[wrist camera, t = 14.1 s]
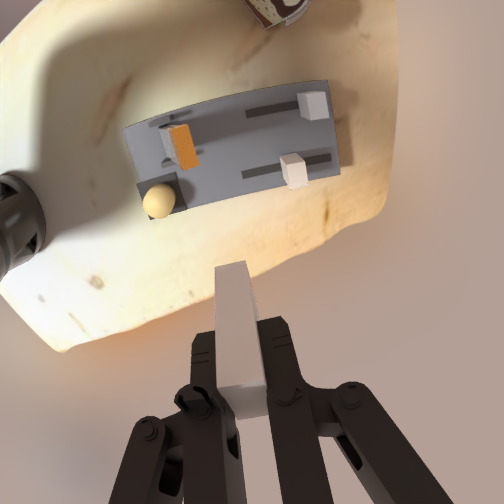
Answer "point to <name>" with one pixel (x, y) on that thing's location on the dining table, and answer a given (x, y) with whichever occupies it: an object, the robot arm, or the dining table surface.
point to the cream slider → (294, 170)
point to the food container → (277, 11)
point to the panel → (236, 145)
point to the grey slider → (313, 105)
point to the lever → (179, 145)
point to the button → (159, 201)
